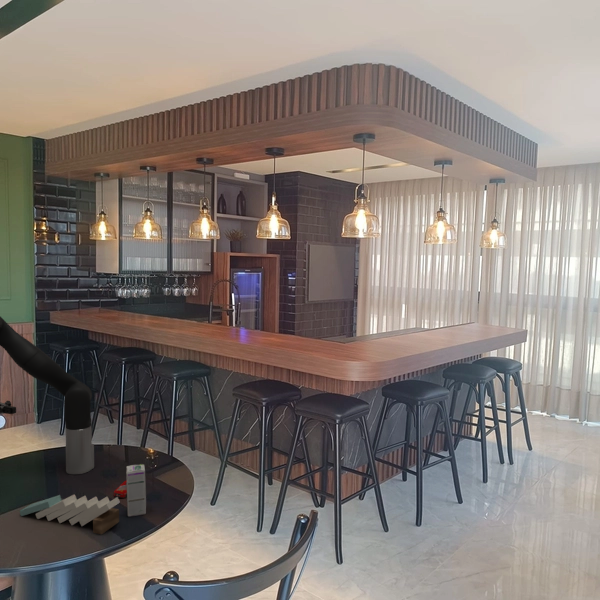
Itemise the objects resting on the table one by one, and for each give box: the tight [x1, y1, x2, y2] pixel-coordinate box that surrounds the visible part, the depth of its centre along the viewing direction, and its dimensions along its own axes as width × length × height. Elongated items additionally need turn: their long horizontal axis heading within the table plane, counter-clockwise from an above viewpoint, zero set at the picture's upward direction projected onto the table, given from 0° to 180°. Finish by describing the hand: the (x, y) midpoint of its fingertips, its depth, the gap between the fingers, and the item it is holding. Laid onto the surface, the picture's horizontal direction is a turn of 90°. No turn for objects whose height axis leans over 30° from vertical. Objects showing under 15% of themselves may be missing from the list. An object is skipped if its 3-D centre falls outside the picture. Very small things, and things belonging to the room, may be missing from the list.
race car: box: [113, 479, 127, 499], centre depth 178 cm, size 13×5×4 cm, turn 159°
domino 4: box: [56, 496, 100, 524], centre depth 155 cm, size 2×5×12 cm
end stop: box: [92, 507, 120, 535], centre depth 152 cm, size 3×8×4 cm, turn 163°
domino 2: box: [35, 493, 77, 520], centre depth 158 cm, size 2×5×12 cm
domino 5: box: [68, 496, 111, 526], centre depth 154 cm, size 2×5×12 cm
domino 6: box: [78, 497, 121, 527], centre depth 153 cm, size 2×5×12 cm
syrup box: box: [125, 463, 147, 517], centre depth 162 cm, size 6×6×14 cm
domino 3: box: [45, 495, 88, 522], centre depth 157 cm, size 2×5×12 cm
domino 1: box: [19, 494, 62, 517], centre depth 160 cm, size 2×5×12 cm
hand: (14, 410), depth 171 cm, fingers closed
